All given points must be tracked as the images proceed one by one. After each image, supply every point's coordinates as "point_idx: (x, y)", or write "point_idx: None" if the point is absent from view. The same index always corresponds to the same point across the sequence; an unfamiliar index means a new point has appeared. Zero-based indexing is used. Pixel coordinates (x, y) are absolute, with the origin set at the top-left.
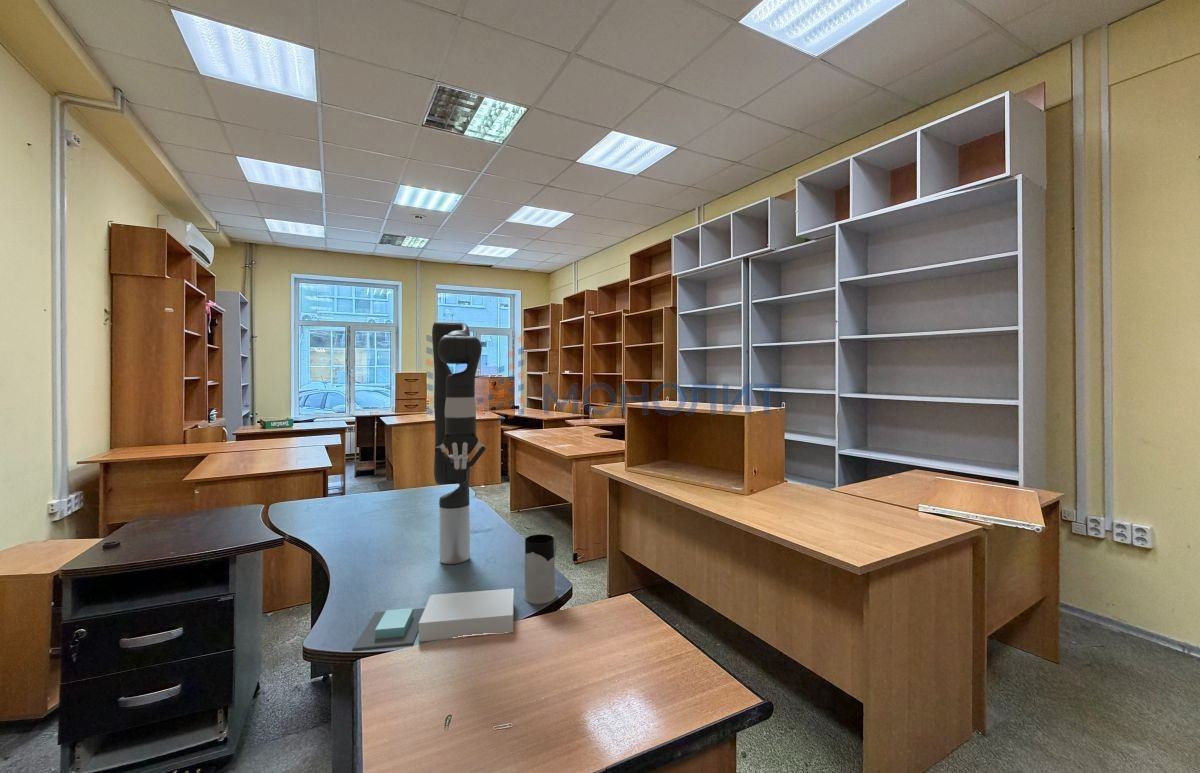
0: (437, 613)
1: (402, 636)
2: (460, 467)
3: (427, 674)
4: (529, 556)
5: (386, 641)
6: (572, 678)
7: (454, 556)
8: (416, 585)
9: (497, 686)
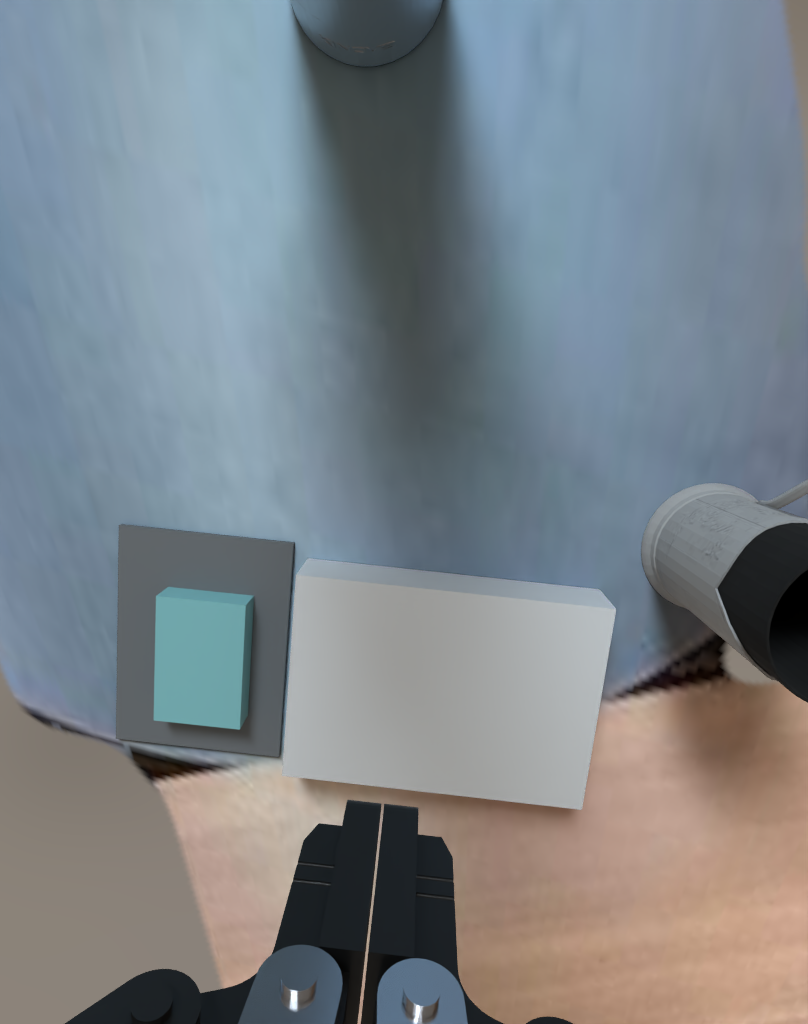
0: (335, 729)
1: None
2: (345, 1005)
3: None
4: (741, 652)
5: (202, 729)
6: (679, 1005)
7: (364, 46)
8: (220, 299)
9: (501, 983)
